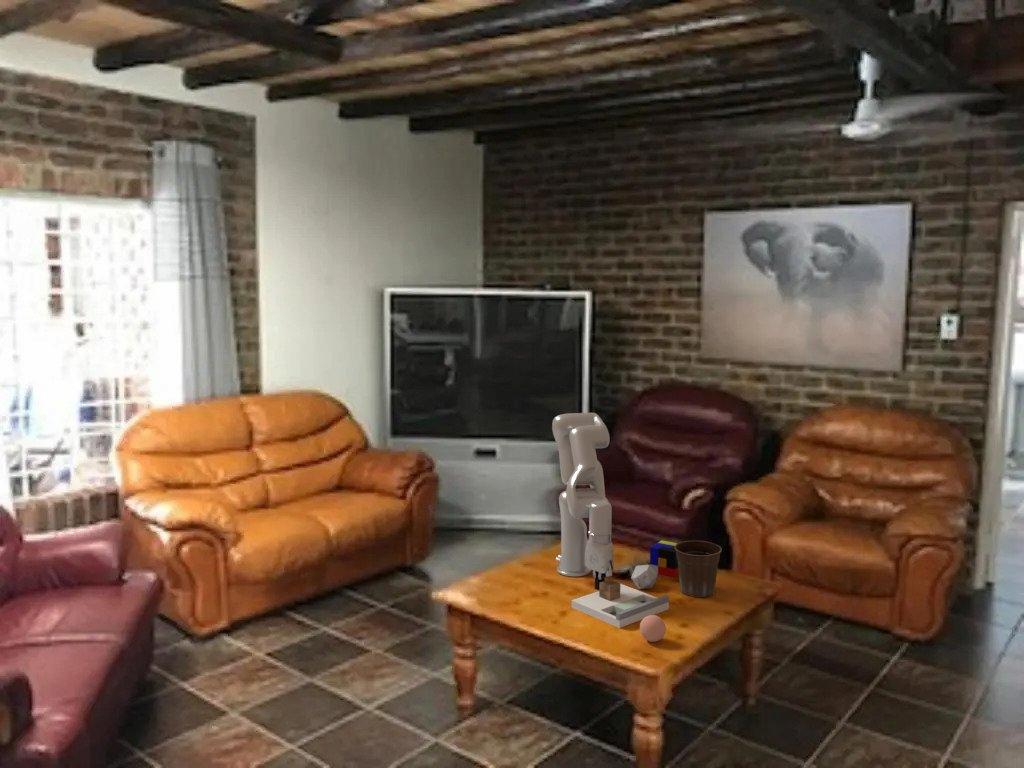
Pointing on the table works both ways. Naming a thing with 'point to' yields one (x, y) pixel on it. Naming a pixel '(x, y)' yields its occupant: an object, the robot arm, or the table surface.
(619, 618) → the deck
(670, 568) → the puzzle toy
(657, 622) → the toy ball
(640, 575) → the die
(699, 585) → the plant pot
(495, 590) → the table surface
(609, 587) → the block
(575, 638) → the table surface
